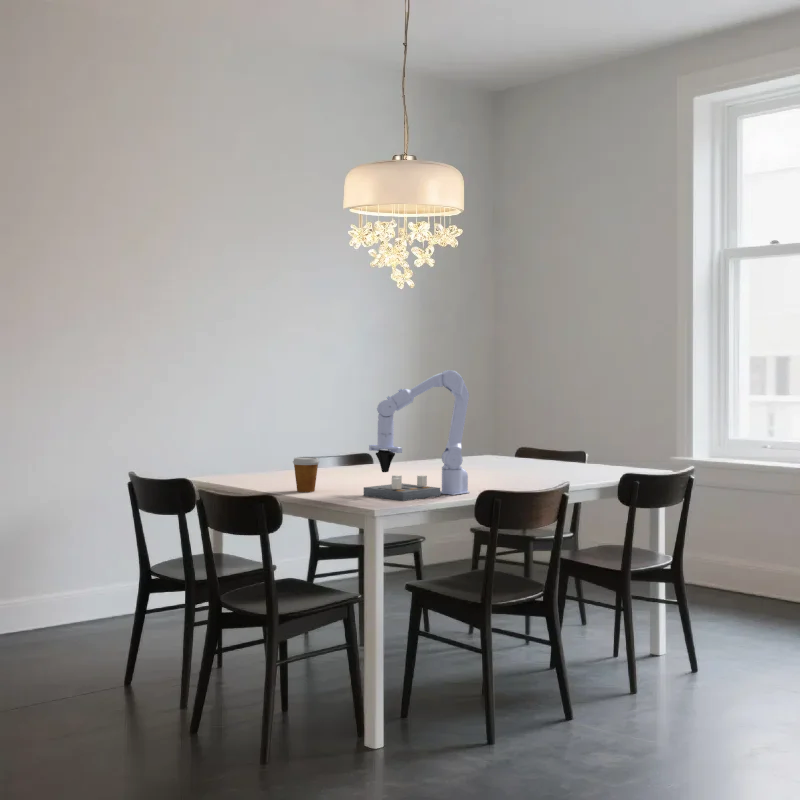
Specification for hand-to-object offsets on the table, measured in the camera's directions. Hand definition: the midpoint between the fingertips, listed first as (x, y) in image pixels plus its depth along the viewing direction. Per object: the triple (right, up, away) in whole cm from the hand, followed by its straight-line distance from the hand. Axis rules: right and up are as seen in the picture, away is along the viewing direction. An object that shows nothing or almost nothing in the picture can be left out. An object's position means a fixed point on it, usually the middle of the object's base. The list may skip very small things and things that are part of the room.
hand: (385, 472), depth 370 cm
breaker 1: (+4, -5, -13) cm, 14 cm away
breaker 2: (+13, -4, -3) cm, 14 cm away
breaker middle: (+4, -5, -4) cm, 7 cm away
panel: (+6, -8, -5) cm, 11 cm away
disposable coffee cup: (-29, -8, +5) cm, 30 cm away
